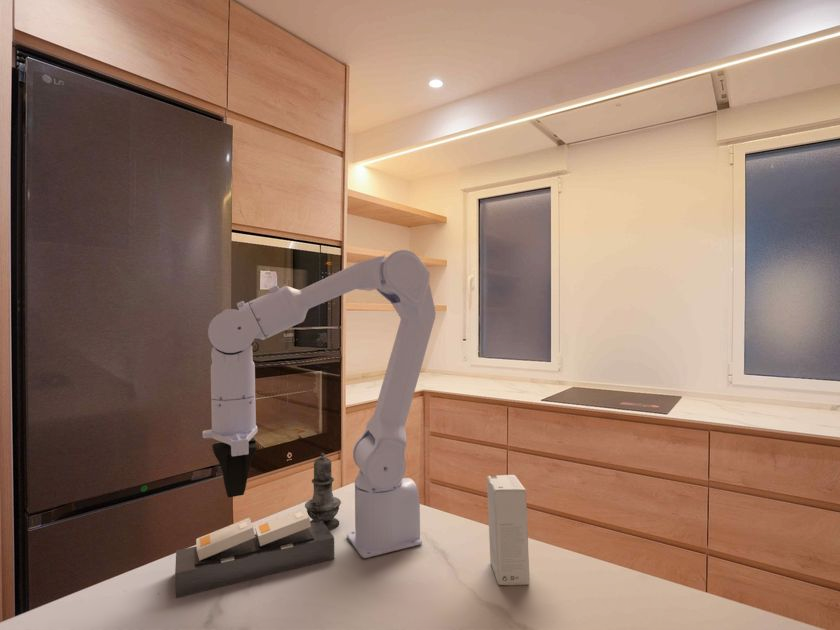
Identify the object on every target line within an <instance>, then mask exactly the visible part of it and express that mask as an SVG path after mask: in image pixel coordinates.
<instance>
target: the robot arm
mask: <svg viewBox="0 0 840 630" xmlns="http://www.w3.org/2000/svg"><path fill="white" fill-rule="evenodd" d="M385 256H386V255H385V254H384V255H379V256H376V257H373V258H372V257H371V258H369V259H366V260H362V261H359V262H356V263H354V264H353V265H350V266H348V267H346V268H344V269H342V270H340V271H337V272H336V273H332V274H330V275H329V276H327V277H325V278H323V279H320V280H319V281H316V282H314V283H312V284H310V285H308V286H305V287H303V288H301V289H297V288H294V287H291V286H288V285H284V286H282V287H279V286H278V285H274V286H272V287H269V289H268V291H269V292H268V293H266V294H264V295H262V296H259V297H256V298H254V299H252V300H249V301H248V302H246V303H245V301H243V300H241V301H239V302H237V303H236V306H237V309H233V308H231V309H230V308H229V309H224V310H223V311H222V312H220V313H218V314H217V315H215V316H214V317H213V318H212V320H211V321H210V322H209V325H208V330H207V337H208V340H209V341H210V343H211V345H212V346H213V347H211V353H210V358H211V362H212V363H211V364H210V398H211V399H210V400H211V402H210V403H211V404H210V405H211V429H205V430H203V431H202V438H203V439H214V440H216V441H219V442H217V443H216V442H215V443H213V444H212V445H211V448H212V451H213V452H212V453H213V454H214V456H215V458H216V460H217V462H218V463H219V466H220V468H221V475H222V479H223V484H224V487H225V493H226V496H227V498H234V497H240V496H244V495H245V492H246V488H247V487H246V486H247V481H248V476H249V471H250V467H251V464H252V461H253V459H254V457H255V454H256V453H257V450H258V443H257V442H256V439H255V438H254V437H255V435H256V434H257V433H258V426H257V414H256V412H257V411H256V410H257V408H256V405H257V404H256V368H255V367H256V365H255V362H254V361H253V358H254V357H253V345H252V344H253V342H254V340H255V339H257V340H258V339H259V340H262V341H263V340H266V339H269V338H271V337H273V336H275V335H277V334H279V333H280V334H281V332H284V331H286V330H288V329H290V328H292V327H294V326H296V325H299V324H302V323H304V322H305V320H306V317H307V313H308V311H309V310H310V309H312V308H314V307H317V306H319V305H321V304H323V303H326V302H329V301H331V300H334V299H335V298H338V297H340V296H343V295H345V294H347V293H350V292H352V291H354V290H361V291H366V292H367V291H368V292H369V291H373V290H376V291H377V293H379V294H380V295H382V297H384V298H385V299H386V300H387V301H388V302H390V304H391V305H392V307H393V309H394V310H395V311H396V313H397V314H398V316H399V317H400V321H399V325H398V328H397V332H396V335H395V339H394V343H393V346H392V350H391V352H390V357H389V359H388V363H387V366H386V367H387V368H386V370H385V373H384V377H383V381H382V385H381V387H380V391H379V394H378V398H377V401H376V405H375V408H374V412H373V415H372V416H371V417H370V419H369V420H368V422H367V423H366V425H365V430H364V432H363V434H362V435H361V436H360V437H359V438H358V440H357V441H356V442H355V444H354V447H353V451H352V457H353V461H354V464H355V465H356V467H358V469H359V472H358V474H357V475H356V477H355V479H354V515H355V516H354V519H355V520H354V522H355V524H354V525H355V527H354V529H355V530H353V531H350V532H347V533H346V538H348V539H347V540H349V542H350V543H351V544H352V546H353V547H354V548H355V549H356V551H357V552H358V553H359V555H360V556H361V557H362V558H363V559H367V558H372V557H376V556H380V555H384V554H387V553H391V552H395V551H399V550H400V551H401V550H403V549H407V548H411V547H415V546H419V545H422V544H423V539H422V538H421V513H420V512H421V507H420V505H421V504H420V502H421V501H420V495H419V491H418V487H417V484H416V483H415V481H414V480H413V479H412V478H410V477H405V473H406V469H407V463H406V457H405V452H406V447H407V440H408V439H407V434H406V433H407V432H406V423H407V420H408V416H409V413H410V409H411V405H412V402H413V398H414V395H415V391H416V387H417V384H418V379H419V377H420V373H421V370H422V366H423V362H424V360H425V355H426V351H427V348H428V344H429V341H430V337H431V333H432V330H433V328H434V327H433V326H434V323H435V320H436V315H437V314H436V312H437V311H436V308H435V303H434V298H433V294H432V289H431V286H430V277H431V272H430V271H429V269H428V268H427V267H426V265H425V263H424V262H423V261H422V259H421V258H420V257H419V256H418V255H417V253H415V252H414V251H411V250H408V249H407V250H406V249H400V250H395V251H393V252H391V253H390V254H389V255H388V256H386V257H385Z"/></svg>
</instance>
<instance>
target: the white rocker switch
mask: <svg viewBox="0 0 840 630" xmlns="http://www.w3.org/2000/svg"><path fill="white" fill-rule="evenodd" d="M255 534H256V533H255V530H254V526H253V524H252V521H251V517H247V518H244V519H242V520H239V521H237V522H235V523H232V524H230V525H227V526H225V527H222V528H220V529H217V530H214V531H213V532H210V533H207V534H205V535H203V536H200V537H198V538H196V539H195V541H196V542H195V543H196V546H197V553H198V557H199V561H200V560H202V559H205V558H207V557H209V556H212V555H214V554H217V553H219V552H221V551H224V550H226V549H228V548H231V547H233V546H236V545H238V544H240V543H243V542H245V541H248V540H250V539H252V538H255Z"/></svg>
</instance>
